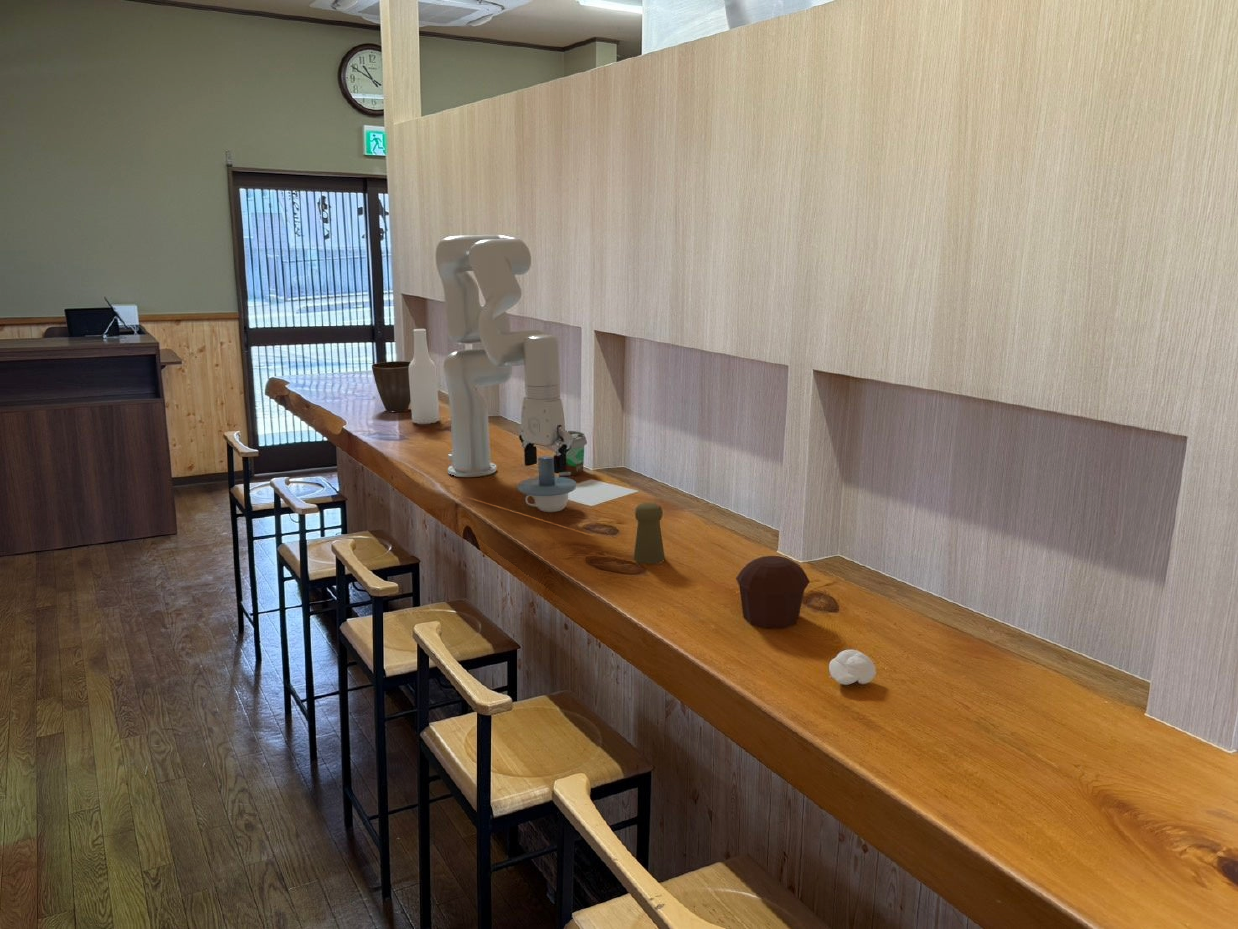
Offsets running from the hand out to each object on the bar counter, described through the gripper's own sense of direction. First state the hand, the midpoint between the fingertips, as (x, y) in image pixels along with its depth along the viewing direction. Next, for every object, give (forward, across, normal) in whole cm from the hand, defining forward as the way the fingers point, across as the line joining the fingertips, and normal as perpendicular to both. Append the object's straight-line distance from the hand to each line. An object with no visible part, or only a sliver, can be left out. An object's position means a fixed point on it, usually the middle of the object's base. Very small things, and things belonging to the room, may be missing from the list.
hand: (545, 468), depth 209 cm
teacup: (+10, 0, 0) cm, 10 cm away
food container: (+10, -18, +26) cm, 33 cm away
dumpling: (+10, +92, -26) cm, 96 cm away
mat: (+10, -2, +16) cm, 19 cm away
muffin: (+10, +71, -15) cm, 73 cm away
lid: (+4, 0, 0) cm, 5 cm away
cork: (+10, +38, -8) cm, 40 cm away
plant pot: (+10, -126, +44) cm, 134 cm away
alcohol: (+10, -102, +39) cm, 110 cm away
